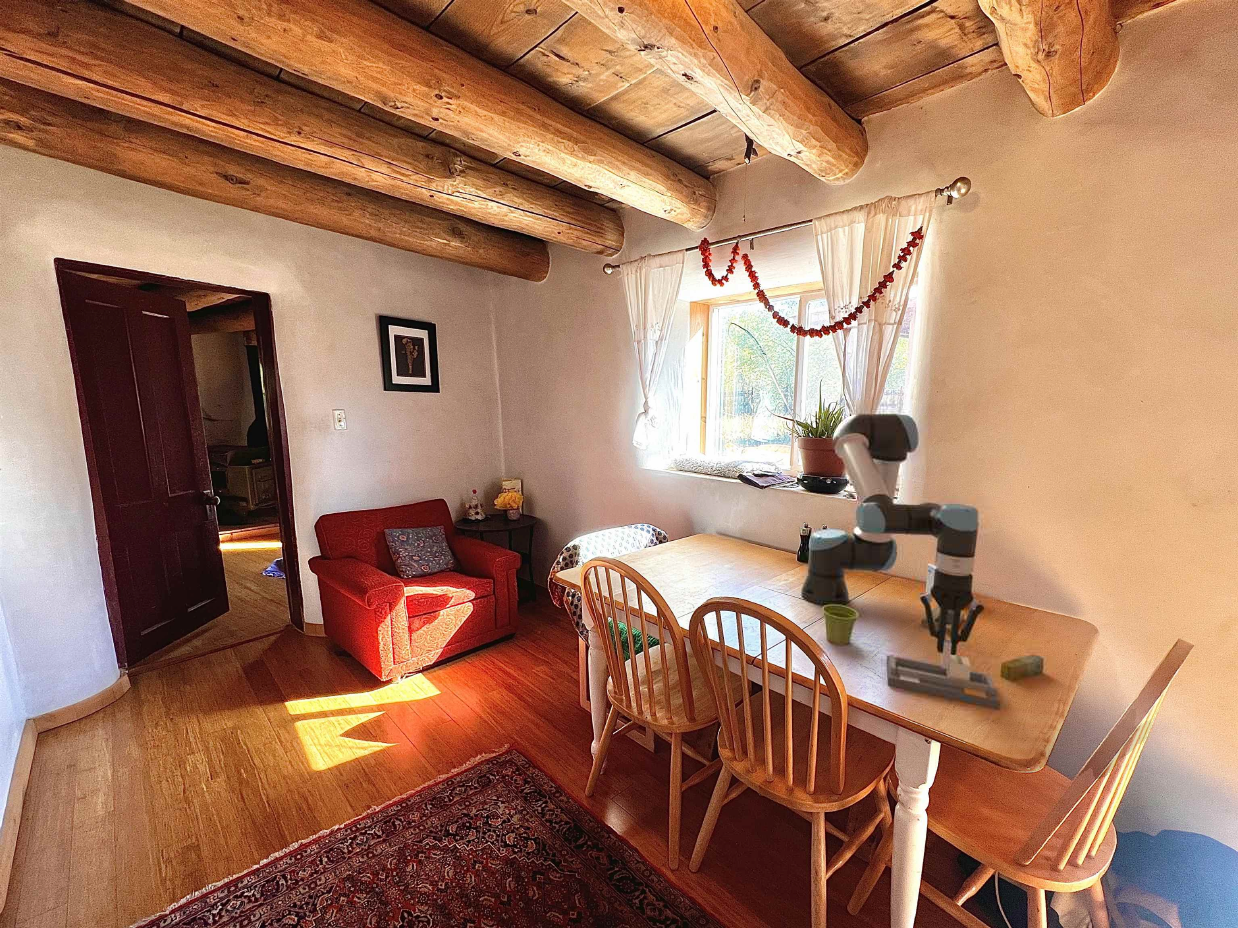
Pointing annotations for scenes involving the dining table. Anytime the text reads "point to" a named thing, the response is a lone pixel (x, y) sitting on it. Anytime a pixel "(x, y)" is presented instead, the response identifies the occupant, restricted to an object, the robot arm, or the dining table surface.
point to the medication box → (1022, 667)
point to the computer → (936, 619)
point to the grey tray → (941, 682)
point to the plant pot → (839, 623)
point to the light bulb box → (930, 577)
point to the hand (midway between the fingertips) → (944, 665)
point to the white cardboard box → (959, 668)
